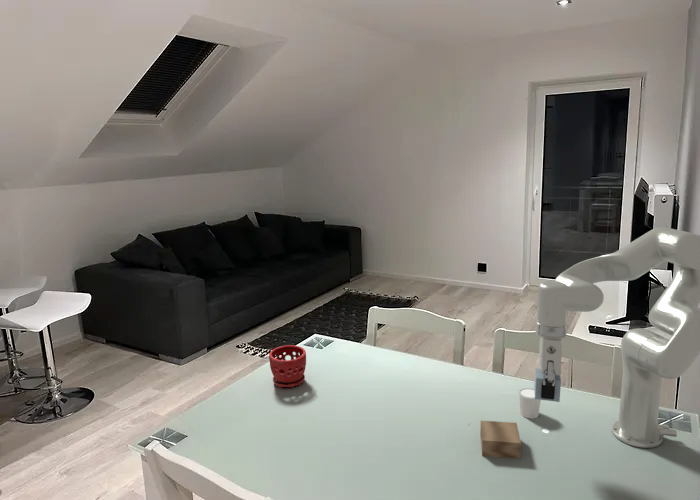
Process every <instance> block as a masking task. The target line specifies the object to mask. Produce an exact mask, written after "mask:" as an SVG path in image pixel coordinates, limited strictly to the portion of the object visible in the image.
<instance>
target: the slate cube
mask: <svg viewBox="0 0 700 500" xmlns="http://www.w3.org/2000/svg"><path fill="white" fill-rule="evenodd" d="M534 371H535V372H534V388H533V389H534V391H535V399H539V400H541V401H546V402H547V401H549V402H556V403H560V400H561V399H560V398H561V387H562V386H561V385H562V379H561V375H560V376H558V375H556V373H555V394H554V399H553V400H552V399H544V398H541V388H542V383H543V374H542V373H541V369H540V368H537V367H536V368H535V370H534ZM545 373H547V371H545ZM546 378H547V375H546Z"/></svg>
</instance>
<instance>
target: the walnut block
mask: <svg viewBox="0 0 700 500" xmlns="http://www.w3.org/2000/svg"><path fill="white" fill-rule="evenodd" d="M518 428H519V427H518V424H517V422H510V421H508V422H507V421H494V420H493V421H491V420H480V444H481V445H480V447H481V454H482V455H481V456H482V457H494V458H504V459H505V458H506V459H507V458H508V459H518V460H520V459H521V455H522V452H521V451H522V441H521V436H520V432H519V429H518Z"/></svg>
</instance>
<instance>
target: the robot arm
mask: <svg viewBox="0 0 700 500" xmlns="http://www.w3.org/2000/svg"><path fill="white" fill-rule="evenodd" d="M665 262H666V263H667V262H668V263H670V264H673V269H674V270H673V276H672V279H671V281H670V283H669V284H668V285H667V286H666V288H665V289H664V291H663V292H662V294H661V295H660V297H659V298H658V299H657V301H656V302H655V303H654V305H653V306H652V308H651V309H650V311H649V313H648V318H647V319H648V321H649V323H650V325H651V326H653V327H654V328H655V329H657V330H659V331H660V332H663V333H665V334H667V335H668V336H670V338H669V339H668V338H665V336H663V335H660V334H658V333H657V332H656V333H655V332H654V331H651V330H649V329H646V328H641V327H637V328H632V329H630V330H628V331H626V332H625V334H623V337H622V339H621V342H620V350H621V357H622V358H621V360H622V376H621V377H622V378H621V390H620V399H619V400H620V401H619V415H618V421H616V422H614V423H613V424H612V426H611V432H612V434H613V435H614V437H615V438H616V439H618V440H619V441H621V442H623V443H625V444H627V445H630V446H633V447H638V448H644V449H645V448H646V449H647V448H648V449H649V448H655V447H659V446H660V445H662V442H663V437H664V436H667V437H673V438H676V437H677V434H678V432H677V429H671V428H670V426H669V425H666V424H660V422H659V411H660V410H659V409H660V404H661V403H660V402H661V401H660V400H661V392H662V385H663V384H662V381H663V380H662V378H663V379H664V380H665V379H666V380H675V379H678V378H680V377H681V376H683V375H684V374H686V373H687V371H688V370H689V368H690V367H691V366H692V365H693V363H694V362H695V361H696V359H697V358H698V356H699V355H700V307H699V305H700V235H699V234H696V233H693V232H689V231H684V230H678V229H674V228H671V227H664V226H660V227H655V228H653V229H651V230H649V231H647V232H645V233H644V234H643V235H641V236H639V237H637V238H635V239H634V240H633V241H631V242H629V243H628V244H625V245H624V246H622V247H621V248H620V249H618V250H616V251H615V252H611V253H608V254H602V255H600V256H596V257H592V258H588V259H585V260H582V261H580V262H578V263H575V264H573V265H572V266H571V267H569V268H567V269H566V270H564V271H562V272H561V273H560V274H559V275H557V276H556V278H555V279H554V280H546V281H542V282H540V284H538V287H537V300H536V313H535V314H536V317H535V331H534V332H535V334H536V335H537V336H538V337H539V347H538V350H539V351H538V354H539V356H538V358H539V369H541V373H542V374H543V383H542V388H541V398H544V399H552V400H553V399H554V394H555V373H556V375H558V376H560V377H561V374H562V357H563V355H562V354H563V353H562V352H563V339H565V338H566V337H567V331H568V330H567V329H568V318H569V317H568V316H569V315H568V314H569V312H570V311H571V312H581V313H583V312H584V313H587V312H593V311H595V310H597V309H599V308H600V307H601V306H602V305H603V303H604V299H605V297H604V293H603V291H602V289H601V288H600V287H599V286H597V285H596V284H597V283H601V282H602V283H603V282H625V281H626V282H628V281H634V280H637V279H639V278H640V277H642V276H643V275H645V274H647V273H648V272H650V271H652V270H653V269H654V268H656V267H658V266H659V265H661V264H662V263H665ZM545 371H547V373H545ZM546 375H547V378H546Z"/></svg>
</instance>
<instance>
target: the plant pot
mask: <svg viewBox="0 0 700 500" xmlns="http://www.w3.org/2000/svg"><path fill="white" fill-rule="evenodd" d="M287 356H290V359H288V360H287V359H286V357H287ZM268 357H269V358H268V359H269V367H270V370H271V374H272V375H273V377H272V382H273V384H274V385H275V386H277V387H279V388H282V387H292V388H295V387H294V386H296V387H298V386H300V385H302V384H303V383H304V381H306V380H305V378H306V375H305V371H306V367H307V366H306V365H307V352H306V349H305V348H303V347H302V346H298V345H293V344H292V345H291V344H290V345H288V344H287V345H282V346H279V347H278V346H277V347H276V348H273V349H272V350H271V351H270V352H269V355H268ZM301 383H302V384H301ZM297 385H298V386H297Z"/></svg>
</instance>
